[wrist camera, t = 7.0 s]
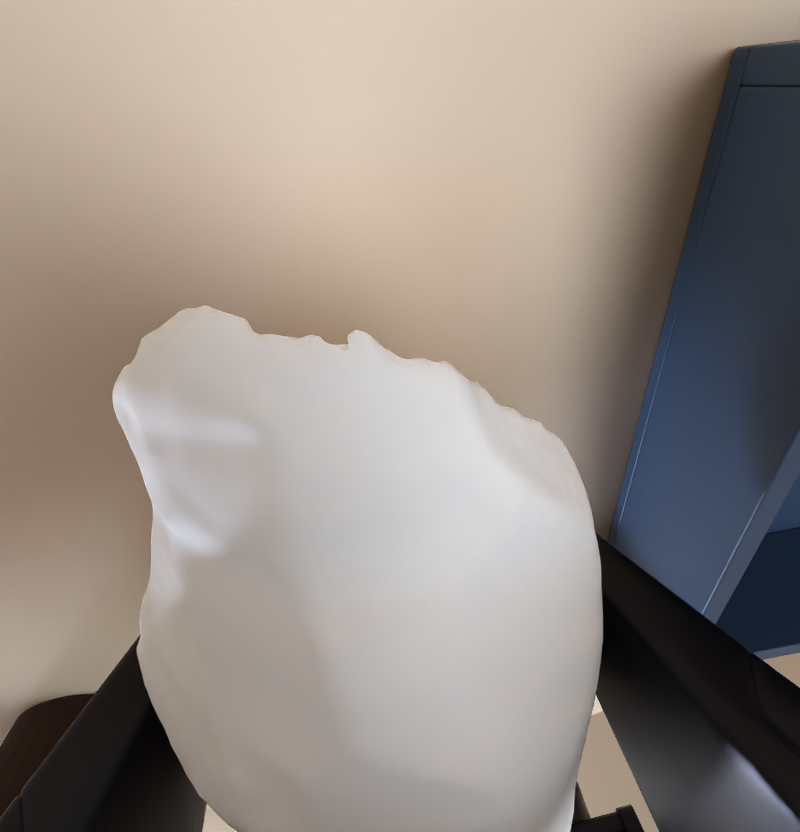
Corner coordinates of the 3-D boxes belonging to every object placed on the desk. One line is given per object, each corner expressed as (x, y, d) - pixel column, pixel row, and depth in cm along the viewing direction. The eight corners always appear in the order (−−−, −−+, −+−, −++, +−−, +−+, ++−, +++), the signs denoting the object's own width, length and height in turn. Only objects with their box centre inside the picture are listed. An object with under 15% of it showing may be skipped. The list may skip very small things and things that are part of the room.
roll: (500, 147, 6) (1046, 337, 2) (526, 630, 13) (636, 921, 9) (47, 255, 6) (-786, 768, 1) (317, 680, 13) (315, 997, 9)
